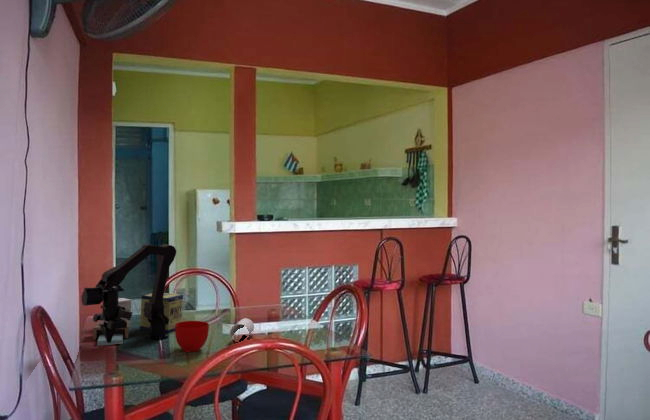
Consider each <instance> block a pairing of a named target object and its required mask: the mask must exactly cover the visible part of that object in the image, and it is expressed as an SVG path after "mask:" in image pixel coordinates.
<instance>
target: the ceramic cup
mask: <svg viewBox="0 0 650 420" xmlns="http://www.w3.org/2000/svg"><path fill="white" fill-rule="evenodd" d="M209 329H210V323H208V322H207V321H203V320H202V321H201V320H187V321H186V320H185V321H184V320H182V322H179V323H176V324H175V331H174V332H175V333H174V334H175V340H176V342H177V345H178V346H179V348H180V349H181V350H182V351H183V352H187V353H194V352H195V351H196V352H199V351H200V350H201V349H202V348H203V347H204V346H205V343H206V342H207V339H208V335H209ZM198 350H199V351H198ZM196 352H195V353H196Z"/></svg>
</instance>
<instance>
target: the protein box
mask: <svg viewBox="0 0 650 420" xmlns="http://www.w3.org/2000/svg"><path fill="white" fill-rule="evenodd" d="M151 297H152V292H151V293H147V294H142V295H141V299H140V300H141V302H140V304H141V305H140V320H139V321H140V323H139V330H142V329H145V330H144V331H149V330H150V322H148V319H147V318H146V317H145V316H144V311H143V310H144V307H145V302H149V300H150V299H151ZM163 304H164V315H165V316H166V317H167V318H168V319H169V322H168V324H167V325H166V331H165V334H170V333H173V332H175V324H176V323H179V322H183V309H184V308H183V307H184V306H183V304H184V294H176V293H167V292H166V293H165V292H164V296H163Z"/></svg>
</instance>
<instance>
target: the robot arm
mask: <svg viewBox="0 0 650 420" xmlns="http://www.w3.org/2000/svg"><path fill="white" fill-rule="evenodd" d="M151 255H155V257H156V261H157V269H156V273H155V278H154V283H153V287H152V292H151V293H152V297H151V299H150V300H149V302H145V307H144V310H143V311H144V316H145V317H146V318H147V319H148V322H150V331H149V335H147V336H146V338H147V339H149V340H153V341H159V340H162V339H167V338H169V335H166V333H165V331H166V325H167V324H168V322H169V319H168V318H167V317H166V316H165V315H164V304H163V296H164V293H165V291H166V285H167V279H168V275H169V270H170V267H171V265H172V264H173V262H174V261H175V258H176V255H177V249H176V247H175V246H174V245H171V244H166V243H165V244H164V243H163V244H160V245H152V244H147V243H146V244H143V245H142V246H141V247H140V248H139V249H137V250H136V251H135V252H134V253H132V255H131V256H128V258H126V259H125V260H124V261H123V262H121V263H120V264H119V265H116V266H113V267H111V268H109V269H108V270H106V271H104V272H103V273H102V274H101V278H100V280H99V281H98V283H97V284H96V285H95V287H88V286H87V287H84V288H83V292H82V295H81V303H82V306H83V307H84V306H85V307H86V306H87V307H88V306H96V305H100V309H101V310H102V313H95V314H94V315H93V318H92V321H93V322H94V323H98V321H100V323H101V324H99V326H100V328H101V330H102V332H103V334H104V336H105V339H106V341H107V343H110V342H111V340H112V337H113V334H114V332H115V330H116V329H120V328H126V327H127V322H126V321H125V320H123V319H121V318H125V319H127V320H130V321H131V318H132V316H133V311H131V312H130V311H127V310H126V308H125V307H122V306H119V305H118V298H119V297H120V296H119V292H124V291H125V289H124V288H123V287H122V286H121V285H120V284H121V283H122V282H123V281H124V280H125V278H127V277H126V276H127V275H128V274H129V273H130V272H131V271H132V270H133V269H135V268H136V267H137V266H138V265H140V264H141V263H142V262H143V261H144V260H145V259H147V258H148V257H149V256H151ZM101 303H102V305H101Z"/></svg>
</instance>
